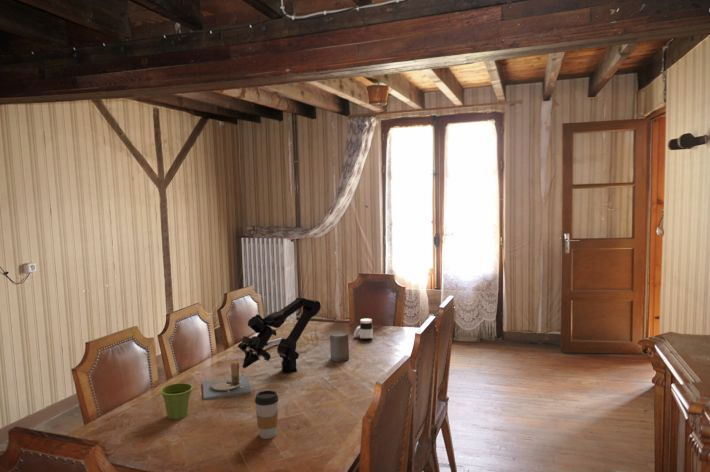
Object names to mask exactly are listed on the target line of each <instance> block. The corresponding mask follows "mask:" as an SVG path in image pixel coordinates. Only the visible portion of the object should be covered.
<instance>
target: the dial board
mask: <svg viewBox="0 0 710 472" xmlns="http://www.w3.org/2000/svg"><path fill="white" fill-rule="evenodd" d="M218 379H219V378H218ZM218 379H211V380H210V379H209V380H203V381H202V393H203V401H208V400H215V399H216V400H217V399H223V398H230V397H236V396H242V395H249V394H252V392H253V391H252V388H251V385H250V382H249V380H248V376H247V375H241V376H240V375H239V379H240V380H241V386H239V387H238V388H236V389H233V390H228V391H215V390H213V389H212V388H211V384H212V382H214V381H215V380H218Z"/></svg>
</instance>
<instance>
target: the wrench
mask: <svg viewBox="0 0 710 472" xmlns="http://www.w3.org/2000/svg"><path fill="white" fill-rule="evenodd" d="M282 338H283V337H279V338H276V339H272V340H268V342H267V344H268V346H265V347H264V348H263V349H266V348H268V347H272V346H276V345H277V346H278V344H279V343H280V341H281V339H282Z"/></svg>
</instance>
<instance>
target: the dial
mask: <svg viewBox="0 0 710 472" xmlns="http://www.w3.org/2000/svg"><path fill="white" fill-rule="evenodd" d="M230 376H231V377H230ZM230 376H229V377H223V378H218V380H216V379H214V380H215V381H214V382H212V384H211V388H212V389H213V390H215V391H228V390H233V389H236V388H238V387H239V386H241V380H240V379H239V376H240V364H239V363H238V362H233V363H231V364H230Z"/></svg>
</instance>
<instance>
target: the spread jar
mask: <svg viewBox="0 0 710 472" xmlns="http://www.w3.org/2000/svg"><path fill="white" fill-rule="evenodd" d="M359 322H360V324H359V325H358V326H357V327H356V328H355V330H354V333H353V337H355V338H358V337H359V338H360V341H361V340H362V341H364V342H365V341H372V340H373V338H374V336H373V335H374V331H373V330H374V329H373V328H374V326H373V319H372V318H368V317H367V318H360V321H359Z"/></svg>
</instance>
